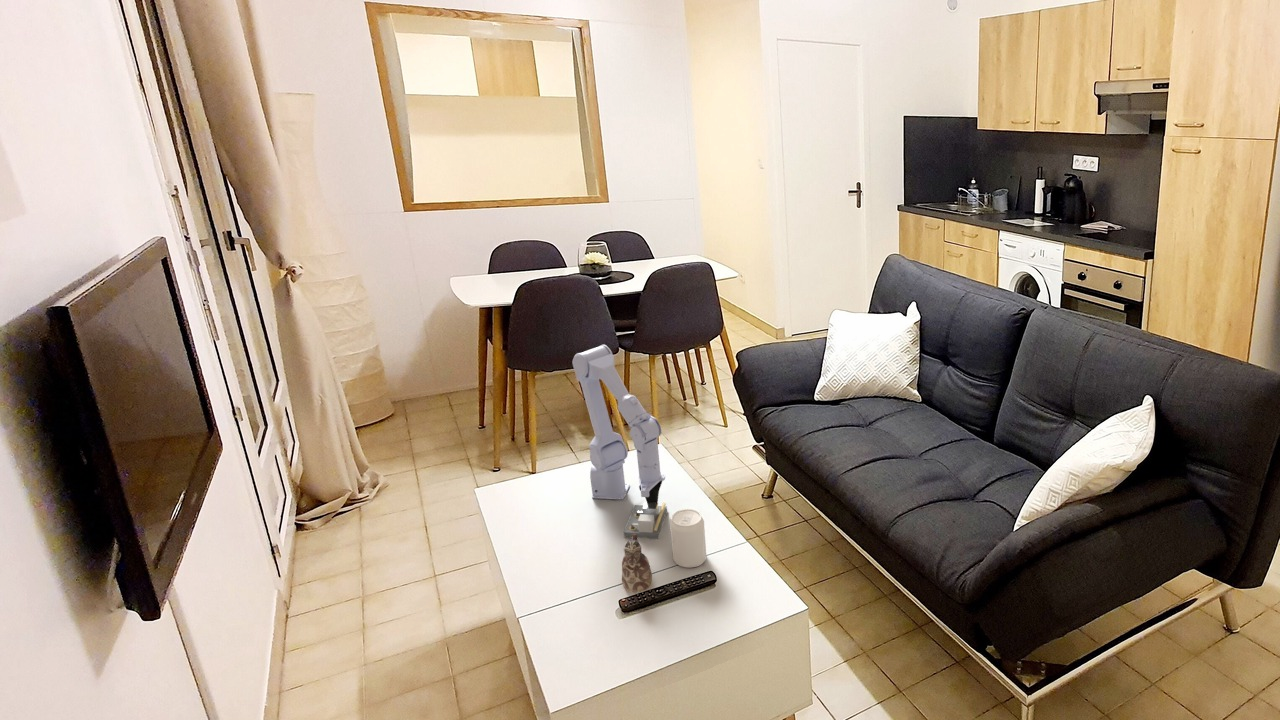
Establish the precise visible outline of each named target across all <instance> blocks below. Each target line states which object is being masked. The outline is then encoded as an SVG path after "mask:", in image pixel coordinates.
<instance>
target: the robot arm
mask: <svg viewBox="0 0 1280 720" xmlns="http://www.w3.org/2000/svg"><path fill="white" fill-rule="evenodd" d="M615 365H616V359H615V355H614V354H613V352H612V350H611V348H609V347H608V346H607V344H601V345H599V346H597V347H593V348H590V349H587V350H585V351H583V352H577V353H576V354H575V355H574V356H573V359H572V367H573V370H574V373H575V378H576V380H577V382H579V383H580V386H581V389H582V394H583V397H584V399H585V404H586V407H587V411H588V414H589V418H590V422H591V425H592V429H593V432H594V437H593V438H592V440H591V441H590V442H589V445H588V448H589V459H590V462H591V464H592V465H591V468H590V472H589V474H590V475H589V479H590V485H591V486H590V488H591V493H592V496H591V498H592V499H603V500H605V499H606V500H624V499H625V497H626V494H627V492H628V491H629V488H630V483H626V481H625V472H624V464H625V462H626V461H625V460H626V459H627V458H628V455H629V454H628V453H629V451H628V447H627V445H626V443H625V442H624V439H623V436H622V434H620V433H617V432H615V431H613V427H612V424H611V419H610V416H609V412H608V409H607V404H606V401H605V398H604V394H603V390H602V386H601V382H600V380H601V381H602V383H603V384H604V385H605V386H606V387H607V389H608V390H609V391H610V393H611V394H612V395H613V397H614V398H615V399H616V400H617V410H618V411H619V413H620V414H621V416H622V417H623V419H624V420H625V422H626V423H627V424H628V427H629V428H630V430H629V435H630V438H631V440H632V442H633V447H634V449H635V450H636V458H637V466H638V482H639V486H638V488H639V491H640V497H641V498H645V500H646V502H653V503H658V504H659V502H658V501H659V495H660V494H659V493H660V488H661V486H662V483H663V482H664V481H665V480H666V475H665V474H662V472H661V465H660V463H661V462H660V454H659V453H660V452H659V444H658V442H659V441H658V438H659V437H660V436H661V435H662V427H661V424H660V422H659V420H658V418H656V417H654V416H653V415H651V413H647V411H646V409H645V408H644V407H643V405H642V404H641V402H640V400H639V399H638V398H637V396H636V395H634V394H630V392H629V391H628V389H627V387H626V386H625V384H624V382H623V380H622V378H621V377H620V375H619V373H618V370H617V369H616V367H615Z"/></svg>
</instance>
